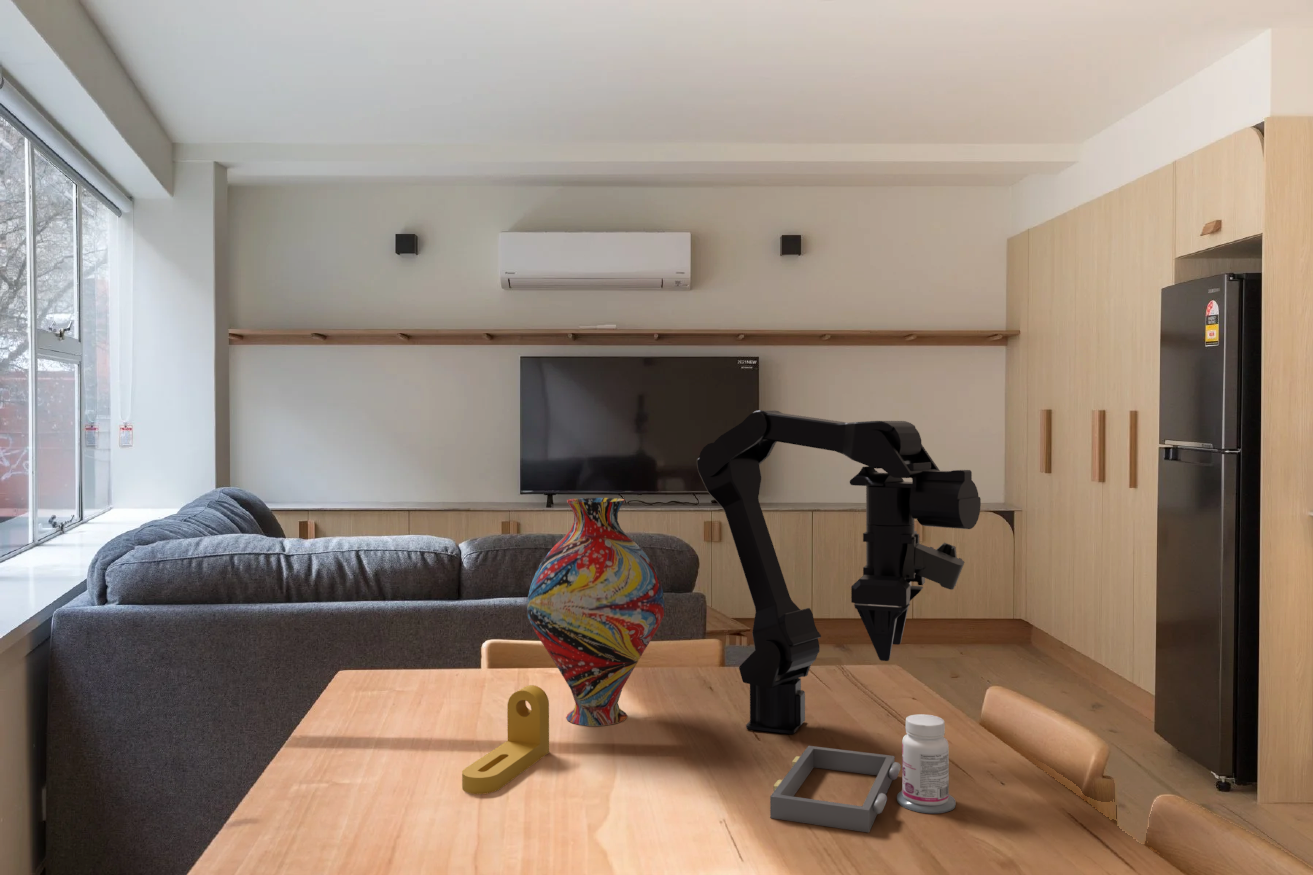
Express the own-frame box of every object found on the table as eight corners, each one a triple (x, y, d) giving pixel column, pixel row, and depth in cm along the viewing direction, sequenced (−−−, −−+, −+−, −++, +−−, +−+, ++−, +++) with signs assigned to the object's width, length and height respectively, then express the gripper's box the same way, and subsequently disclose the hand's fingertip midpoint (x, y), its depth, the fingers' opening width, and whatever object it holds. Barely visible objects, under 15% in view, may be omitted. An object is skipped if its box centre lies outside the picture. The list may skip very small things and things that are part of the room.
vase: (501, 729, 130) (500, 503, 129) (567, 692, 147) (566, 493, 147) (632, 745, 123) (631, 507, 122) (684, 705, 140) (683, 496, 140)
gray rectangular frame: (764, 816, 100) (764, 795, 100) (803, 763, 116) (803, 744, 116) (879, 833, 96) (879, 811, 96) (903, 776, 112) (903, 756, 112)
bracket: (517, 749, 122) (516, 683, 122) (549, 753, 121) (548, 686, 120) (454, 792, 108) (454, 717, 108) (490, 797, 106) (489, 721, 106)
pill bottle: (895, 790, 106) (895, 713, 106) (938, 789, 107) (938, 712, 107) (911, 807, 101) (911, 726, 101) (955, 805, 102) (955, 725, 102)
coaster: (893, 808, 102) (893, 804, 102) (901, 788, 108) (901, 785, 108) (952, 816, 100) (952, 812, 100) (957, 796, 106) (957, 792, 106)
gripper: (952, 534, 107) (952, 676, 107) (965, 519, 124) (965, 641, 125) (850, 530, 111) (850, 667, 111) (877, 516, 129) (877, 634, 129)
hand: (890, 652), depth 119 cm, fingers open, 9 cm apart
